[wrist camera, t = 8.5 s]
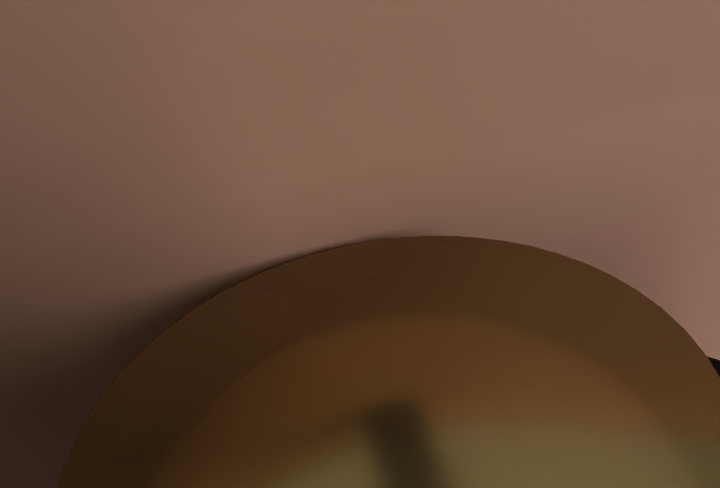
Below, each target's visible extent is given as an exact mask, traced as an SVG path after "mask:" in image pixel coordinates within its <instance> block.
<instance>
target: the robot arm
mask: <svg viewBox="0 0 720 488" xmlns="http://www.w3.org/2000/svg"><path fill="white" fill-rule="evenodd" d="M708 359H709V360H710V362H711V364H712V365H713V367H714V369H715V371H716V372H717V374H718V376H719V377H720V360H717V359H714V358H710V357H708Z"/></svg>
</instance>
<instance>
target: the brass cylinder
mask: <svg viewBox="0 0 720 488" xmlns="http://www.w3.org/2000/svg"><path fill="white" fill-rule="evenodd" d="M59 488H720V377H719V376H718V374H717V372H716V371H715V369H714V367H713V365H712V364H711V362H710V360H709V359H708V357H707V356H706V355H705V353H704V352H703V351H702V350H701V349H700V347H699V346H698V345H697V344H696V342H695V341H694V340H693V339H692V337H691V336H690V335H689V334H688V333H687V331H686V330H685V329H684V328H682V327H681V326H680V325H679V324H678V323H677V322H676V321H675V320H674V319H673V318H672V317H671V316H670V315H668V314H667V313H666V312H665V311H664V310H663V309H662V308H661V307H659V306H658V305H657V304H655V303H654V302H652V301H651V300H650V299H648V298H647V297H646V296H644V295H643V294H641V293H640V292H639V291H637V290H636V289H634V288H632V287H631V286H629V285H627V284H625V283H624V282H622V281H620V280H618V279H617V278H615V277H613V276H611V275H610V274H607V273H605V272H603V271H601V270H599V269H596V268H594V267H592V266H590V265H588V264H585V263H583V262H580V261H577V260H575V259H572V258H569V257H566V256H563V255H561V254H558V253H554V252H550V251H547V250H543V249H539V248H536V247H532V246H527V245H522V244H517V243H512V242H507V241H500V240H492V239H485V238H474V237H459V236H421V237H403V238H394V239H384V240H377V241H371V242H364V243H358V244H353V245H349V246H344V247H339V248H335V249H331V250H327V251H323V252H320V253H316V254H312V255H309V256H306V257H303V258H300V259H297V260H294V261H291V262H288V263H285V264H282V265H280V266H277V267H275V268H272V269H270V270H267V271H265V272H262V273H260V274H258V275H256V276H254V277H251V278H249V279H247V280H245V281H243V282H241V283H239V284H237V285H235V286H233V287H231V288H229V289H227V290H225V291H224V292H222V293H220V294H218V295H216V296H215V297H213V298H211V299H210V300H208V301H207V302H205V303H203V304H202V305H200V306H198V307H197V308H195V309H194V310H192V311H191V312H190V313H188V314H187V315H185V316H184V317H183V318H181V319H180V320H178V321H177V322H176V323H174V324H173V325H172V326H170V327H169V328H168V329H167V330H165V331H164V332H163V333H162V334H161V335H159V336H158V337H157V338H156V339H155V340H153V341H152V342H151V343H150V344H149V345H148V346H147V347H146V348H145V349H144V350H143V351H142V352H141V353H140V354H139V355H137V356H136V357H135V358H134V359H133V360H132V361H131V362H130V363H129V364H128V366H127V367H126V368H125V369H124V370H123V371H122V373H121V374H120V375H119V376H118V377H117V378H116V379H115V381H114V382H113V383H112V384H111V385H110V386H109V388H108V389H107V391H106V392H105V393H104V395H103V396H102V398H101V399H100V400H99V402H98V403H97V405H96V406H95V407H94V409H93V410H92V412H91V413H90V415H89V417H88V419H87V421H86V422H85V424H84V426H83V428H82V429H81V431H80V433H79V435H78V437H77V438H76V440H75V443H74V445H73V447H72V450H71V452H70V455H69V457H68V460H67V462H66V465H65V467H64V470H63V472H62V475H61V480H60V484H59Z"/></svg>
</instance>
